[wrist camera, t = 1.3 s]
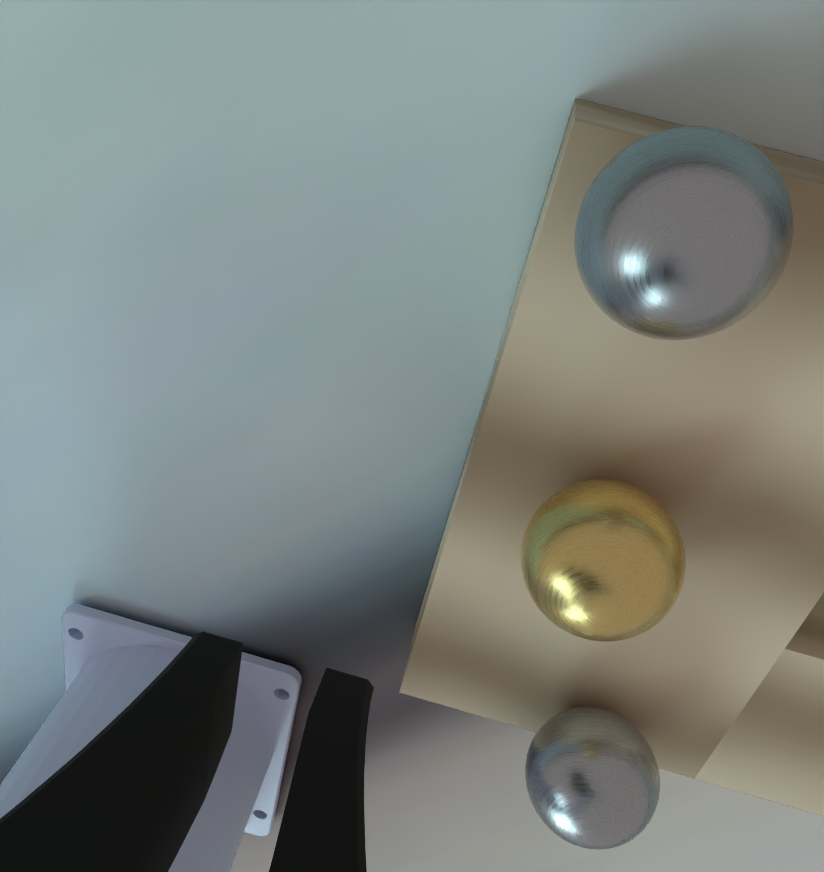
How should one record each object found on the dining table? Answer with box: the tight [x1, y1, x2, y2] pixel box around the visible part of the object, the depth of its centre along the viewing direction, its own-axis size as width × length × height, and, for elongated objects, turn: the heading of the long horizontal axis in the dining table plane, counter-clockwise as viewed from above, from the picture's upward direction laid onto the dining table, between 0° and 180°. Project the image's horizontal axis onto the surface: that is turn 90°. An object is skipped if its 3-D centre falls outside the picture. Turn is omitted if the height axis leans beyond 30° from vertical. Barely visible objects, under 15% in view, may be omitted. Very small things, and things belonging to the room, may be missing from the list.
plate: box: [399, 98, 824, 816], centre depth 18 cm, size 15×15×2 cm
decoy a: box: [525, 706, 660, 849], centre depth 19 cm, size 3×3×3 cm
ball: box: [521, 479, 686, 642], centre depth 16 cm, size 3×3×3 cm
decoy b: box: [574, 126, 793, 340], centre depth 12 cm, size 3×3×3 cm
